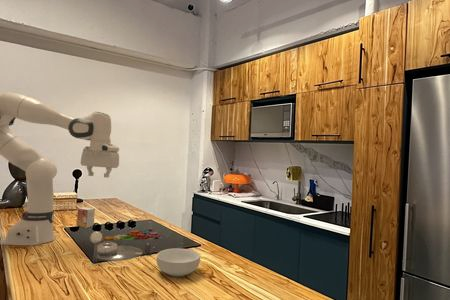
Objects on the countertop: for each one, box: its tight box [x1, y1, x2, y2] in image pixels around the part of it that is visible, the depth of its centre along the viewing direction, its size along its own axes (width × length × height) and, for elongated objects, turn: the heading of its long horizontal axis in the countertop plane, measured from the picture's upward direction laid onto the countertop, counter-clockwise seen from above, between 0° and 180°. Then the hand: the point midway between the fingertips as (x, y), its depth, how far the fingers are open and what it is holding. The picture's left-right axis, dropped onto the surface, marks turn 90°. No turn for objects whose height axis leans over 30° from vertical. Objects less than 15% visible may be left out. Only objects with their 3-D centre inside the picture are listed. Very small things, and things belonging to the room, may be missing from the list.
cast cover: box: [97, 240, 118, 256], centre depth 136 cm, size 8×8×5 cm
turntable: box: [97, 242, 152, 262], centre depth 138 cm, size 23×20×6 cm
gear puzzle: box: [102, 227, 163, 241], centre depth 166 cm, size 31×16×4 cm, turn 130°
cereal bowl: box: [156, 247, 201, 277], centre depth 123 cm, size 17×17×7 cm
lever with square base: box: [89, 231, 103, 264], centre depth 125 cm, size 4×5×14 cm
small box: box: [76, 206, 96, 229], centre depth 186 cm, size 8×6×10 cm
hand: (98, 176), depth 147 cm, fingers open, 8 cm apart
